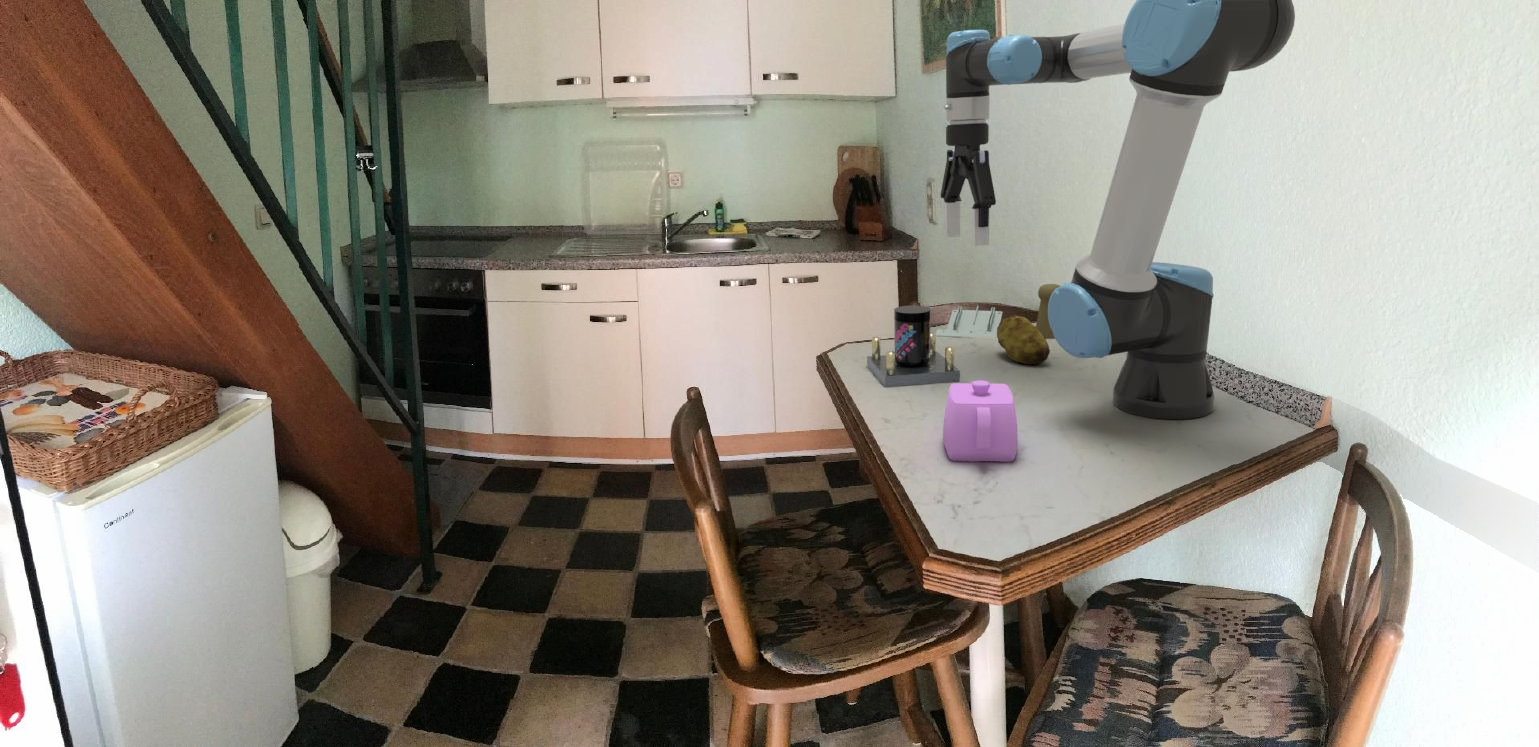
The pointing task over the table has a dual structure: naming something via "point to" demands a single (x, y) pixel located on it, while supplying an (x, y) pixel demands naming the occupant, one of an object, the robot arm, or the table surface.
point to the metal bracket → (971, 323)
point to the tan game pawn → (1045, 310)
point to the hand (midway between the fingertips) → (966, 241)
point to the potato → (1022, 340)
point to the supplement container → (912, 336)
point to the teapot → (980, 422)
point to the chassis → (901, 376)
